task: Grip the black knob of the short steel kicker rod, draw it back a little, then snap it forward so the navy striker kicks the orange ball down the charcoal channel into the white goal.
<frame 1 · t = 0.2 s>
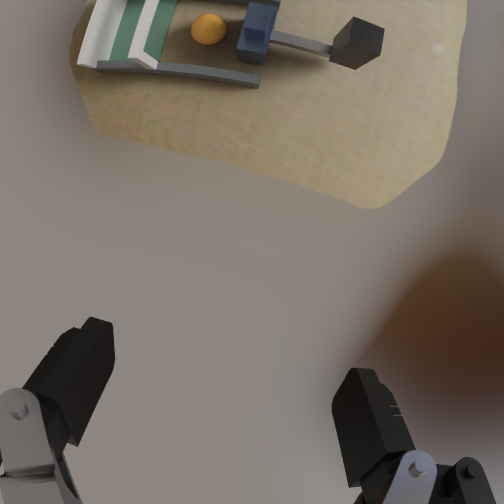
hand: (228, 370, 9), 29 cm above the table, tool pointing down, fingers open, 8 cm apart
striker: (304, 36, 24), point 6 cm above the table, slide at 2.0 cm
pitch: (195, 32, 28), on the table
ball: (208, 29, 26), point 2 cm above the table
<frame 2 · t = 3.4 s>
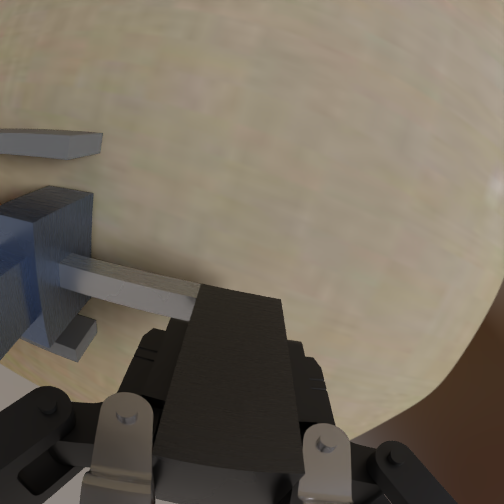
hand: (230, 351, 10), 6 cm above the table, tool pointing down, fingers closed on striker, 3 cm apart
striker: (102, 320, 10), point 6 cm above the table, slide at 2.0 cm, touching gripper
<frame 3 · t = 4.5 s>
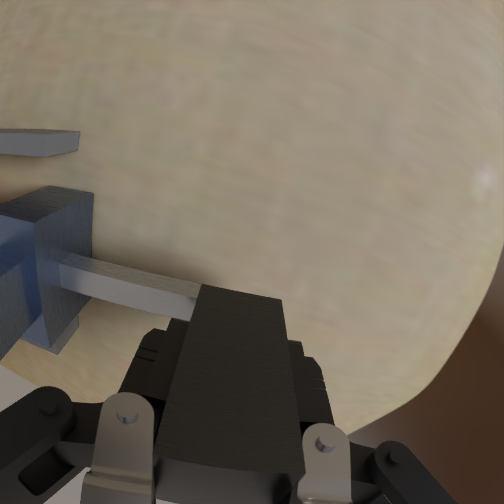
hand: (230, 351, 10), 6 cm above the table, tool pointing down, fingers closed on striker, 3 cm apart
striker: (103, 320, 10), point 6 cm above the table, slide at 0.6 cm, touching gripper
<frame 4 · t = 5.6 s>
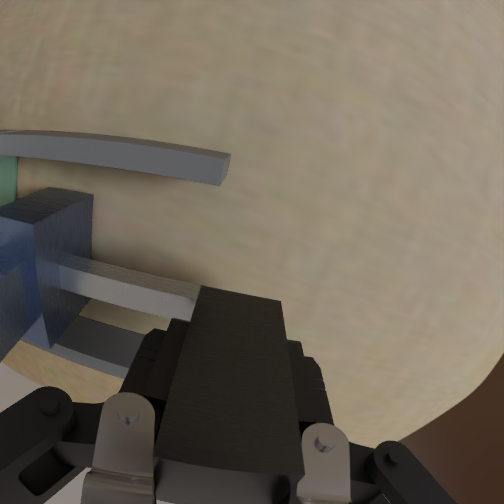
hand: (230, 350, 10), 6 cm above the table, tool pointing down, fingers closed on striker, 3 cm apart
striker: (103, 322, 10), point 6 cm above the table, slide at 8.4 cm, touching gripper
pitch: (57, 238, 14), on the table
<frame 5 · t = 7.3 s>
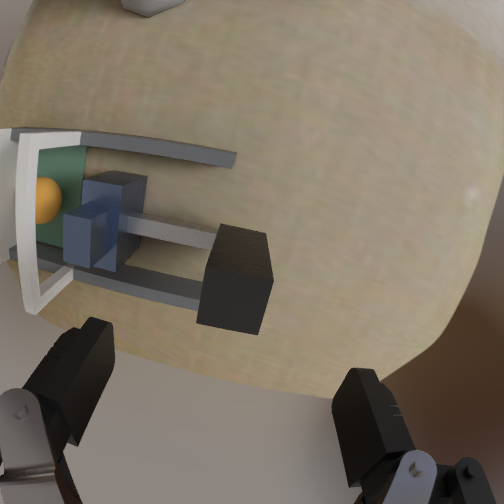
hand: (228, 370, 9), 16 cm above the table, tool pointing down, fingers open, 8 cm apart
striker: (162, 243, 18), point 6 cm above the table, slide at 8.4 cm
pitch: (115, 206, 23), on the table
ball: (41, 200, 20), point 2 cm above the table, tilted 135°, touching pitch
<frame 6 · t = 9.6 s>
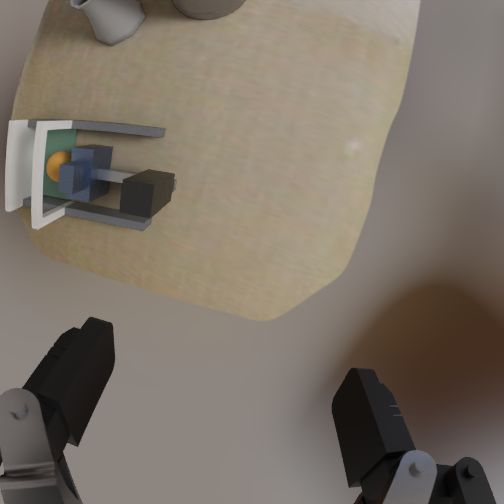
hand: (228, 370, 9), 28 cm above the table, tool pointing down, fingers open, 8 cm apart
flask: (119, 21, 27), on the table
striker: (114, 180, 29), point 6 cm above the table, slide at 8.4 cm
pitch: (94, 167, 34), on the table
ball: (60, 166, 31), point 2 cm above the table, tilted 155°, touching pitch
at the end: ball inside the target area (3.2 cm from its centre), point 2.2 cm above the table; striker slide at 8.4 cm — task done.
